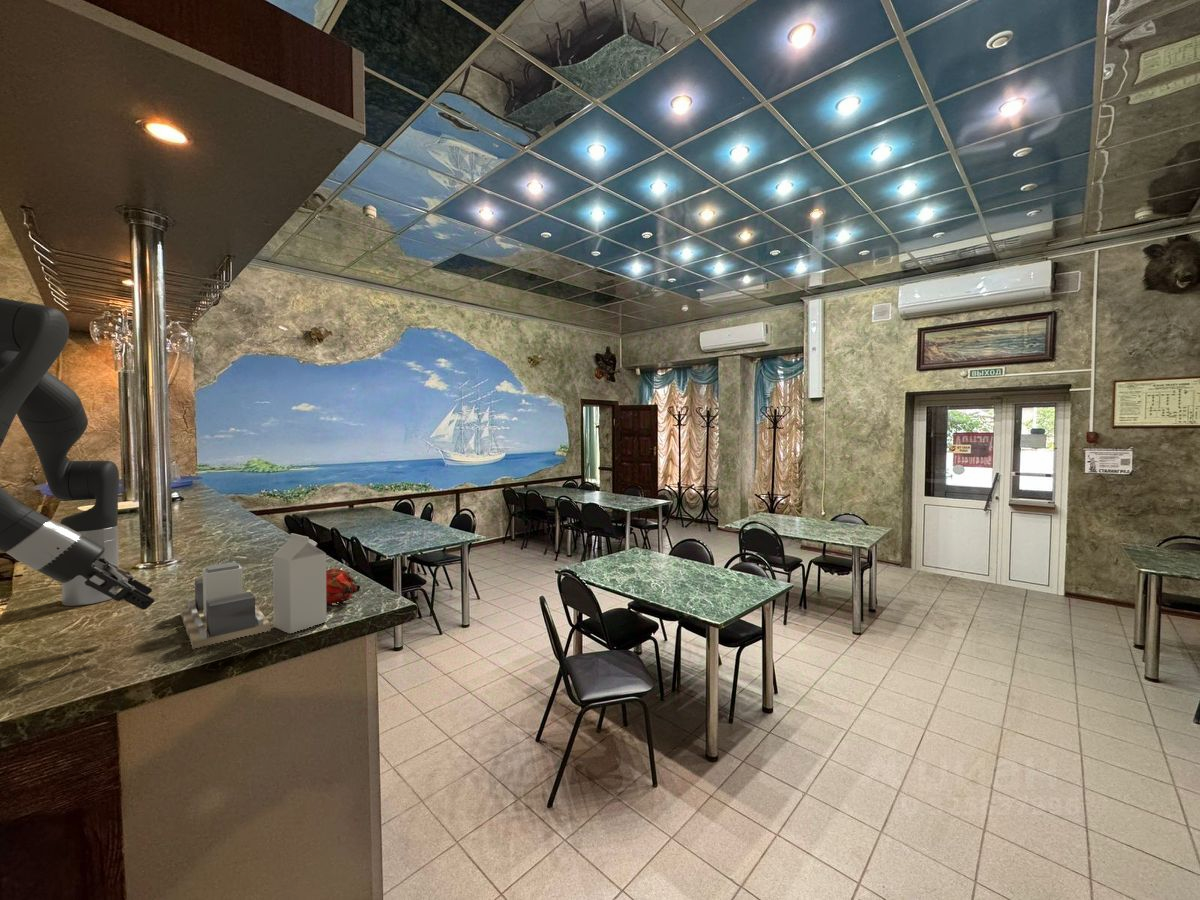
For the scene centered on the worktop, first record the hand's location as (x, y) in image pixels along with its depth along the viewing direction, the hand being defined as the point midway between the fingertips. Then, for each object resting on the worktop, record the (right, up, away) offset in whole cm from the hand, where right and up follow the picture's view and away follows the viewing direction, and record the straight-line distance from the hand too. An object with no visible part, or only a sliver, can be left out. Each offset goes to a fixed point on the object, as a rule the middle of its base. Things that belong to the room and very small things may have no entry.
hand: (149, 599), depth 91 cm
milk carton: (+25, -8, +7) cm, 27 cm away
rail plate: (+8, -7, +8) cm, 14 cm away
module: (+8, -6, +8) cm, 13 cm away
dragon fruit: (+25, -8, +21) cm, 33 cm away
